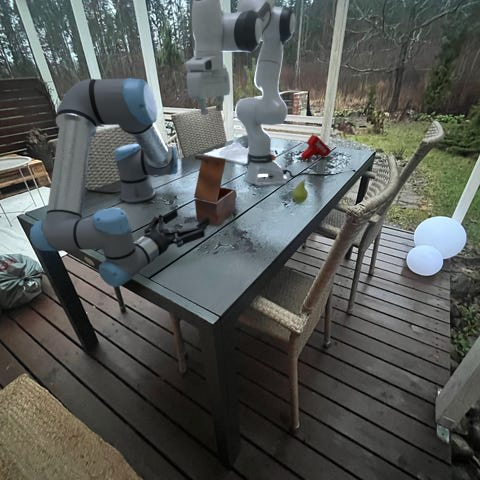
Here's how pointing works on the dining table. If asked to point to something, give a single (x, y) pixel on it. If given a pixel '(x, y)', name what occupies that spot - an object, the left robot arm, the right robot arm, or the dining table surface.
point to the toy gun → (315, 148)
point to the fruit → (300, 192)
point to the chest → (217, 207)
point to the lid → (209, 177)
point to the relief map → (231, 153)
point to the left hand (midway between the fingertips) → (192, 216)
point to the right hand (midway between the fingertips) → (212, 112)
